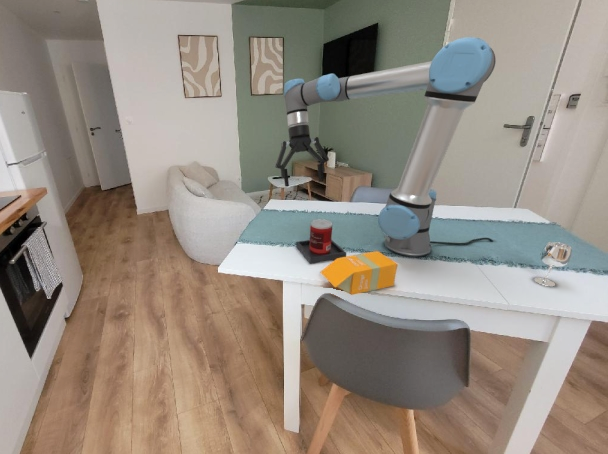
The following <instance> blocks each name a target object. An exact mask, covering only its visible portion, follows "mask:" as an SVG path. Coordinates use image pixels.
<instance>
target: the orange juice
mask: <svg viewBox="0 0 608 454" xmlns="http://www.w3.org/2000/svg"><path fill="white" fill-rule="evenodd" d="M397 270H398V263H397V262H396V261H394V260H393V259H391V258H389V257H388V256H387V255H385V254H383V253H381V252H380V251H379V250H376V251H370V252H364V253H358V254H354V255H348V256H347V255H346V257H342V258H337V259H336V260H332V261H331V262H330V263H329V264H328V265H327V266H326V267H324V268H323V269H322V270H320V272H319V273H320V274H321V275H322V276H323V277H324V278H325V279H326V280H327V281H328V282H329V283H330V284H331V285H332V286H333V287H334V288H335V289H339V290H340V291H343V292H344V293H347V294H349V295H350V296H353V295H357V294H362V293H367V292H372V291H377V290H380V289H385V288H389V287H394V286H395V280H396V275H397Z"/></svg>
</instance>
